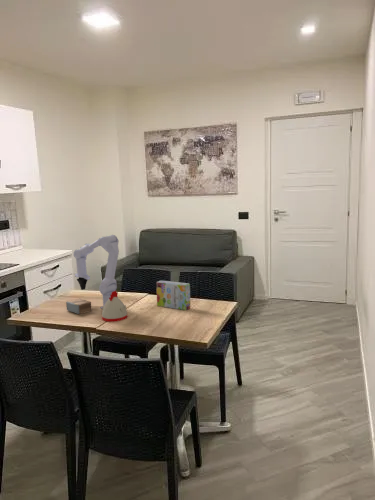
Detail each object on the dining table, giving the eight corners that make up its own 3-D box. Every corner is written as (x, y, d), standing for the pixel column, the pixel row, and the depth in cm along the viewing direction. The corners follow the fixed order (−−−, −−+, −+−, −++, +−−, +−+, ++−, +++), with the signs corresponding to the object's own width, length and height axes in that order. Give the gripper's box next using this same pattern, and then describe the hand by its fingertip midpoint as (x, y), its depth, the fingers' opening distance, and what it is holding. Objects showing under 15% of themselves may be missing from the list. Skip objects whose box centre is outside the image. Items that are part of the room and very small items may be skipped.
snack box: (191, 308, 238) (190, 283, 236) (186, 310, 234) (185, 285, 231) (161, 303, 249) (160, 279, 247) (156, 306, 245) (155, 281, 242)
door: (66, 309, 243) (65, 300, 242) (68, 309, 243) (67, 300, 242) (77, 313, 234) (77, 304, 233) (79, 313, 235) (78, 304, 234)
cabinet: (91, 310, 240) (90, 301, 240) (79, 313, 235) (78, 305, 234) (80, 306, 249) (80, 298, 248) (69, 310, 243) (68, 301, 242)
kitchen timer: (131, 314, 230) (130, 289, 228) (119, 322, 217) (117, 295, 215) (110, 313, 235) (108, 287, 232) (97, 320, 222) (95, 294, 220)
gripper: (69, 267, 254) (71, 288, 256) (82, 270, 244) (83, 292, 246) (79, 265, 259) (81, 286, 261) (92, 268, 249) (93, 290, 251)
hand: (83, 289), depth 254 cm, fingers closed
